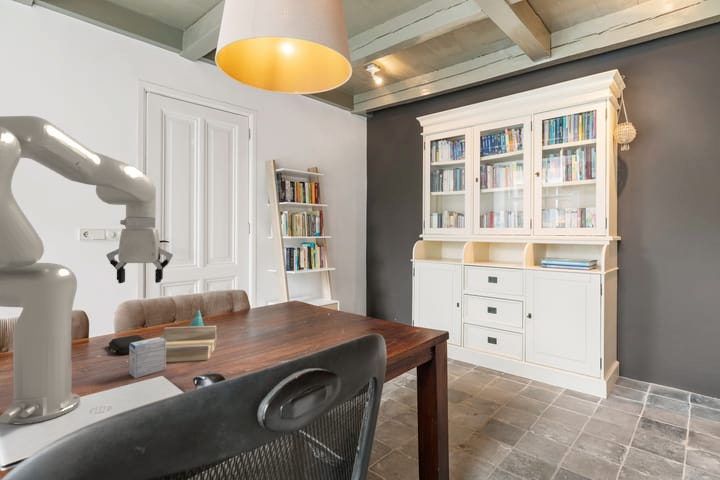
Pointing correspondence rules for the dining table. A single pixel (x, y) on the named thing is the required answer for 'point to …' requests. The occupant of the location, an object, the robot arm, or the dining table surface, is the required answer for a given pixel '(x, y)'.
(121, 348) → the carrying case or bag
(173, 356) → the stepped wooden block
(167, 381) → the dining table surface
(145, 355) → the medicine box
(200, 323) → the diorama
